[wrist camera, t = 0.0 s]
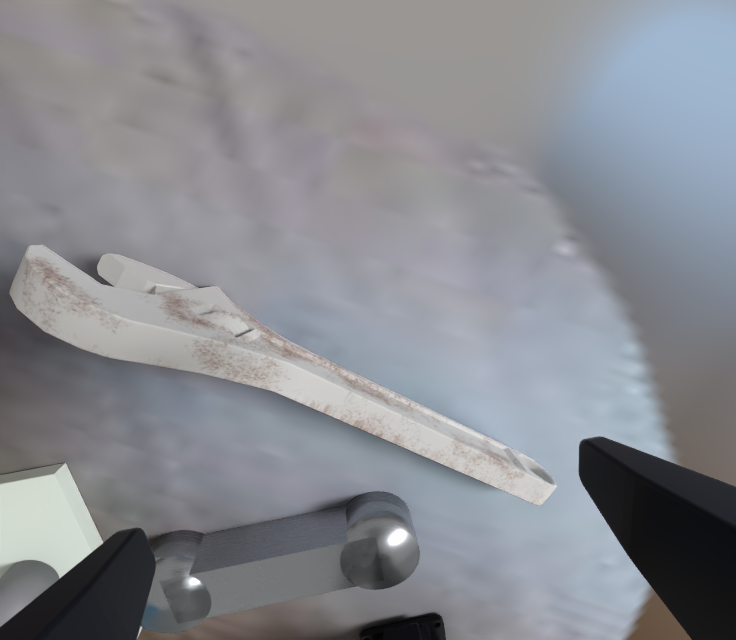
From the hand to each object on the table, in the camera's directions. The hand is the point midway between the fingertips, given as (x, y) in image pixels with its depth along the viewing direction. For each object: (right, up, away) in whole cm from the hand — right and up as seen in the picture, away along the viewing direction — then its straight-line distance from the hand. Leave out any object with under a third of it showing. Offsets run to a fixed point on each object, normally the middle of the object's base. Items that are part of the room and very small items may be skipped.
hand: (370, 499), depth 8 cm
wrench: (-1, 0, +16) cm, 16 cm away
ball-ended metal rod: (-6, -11, +18) cm, 22 cm away
